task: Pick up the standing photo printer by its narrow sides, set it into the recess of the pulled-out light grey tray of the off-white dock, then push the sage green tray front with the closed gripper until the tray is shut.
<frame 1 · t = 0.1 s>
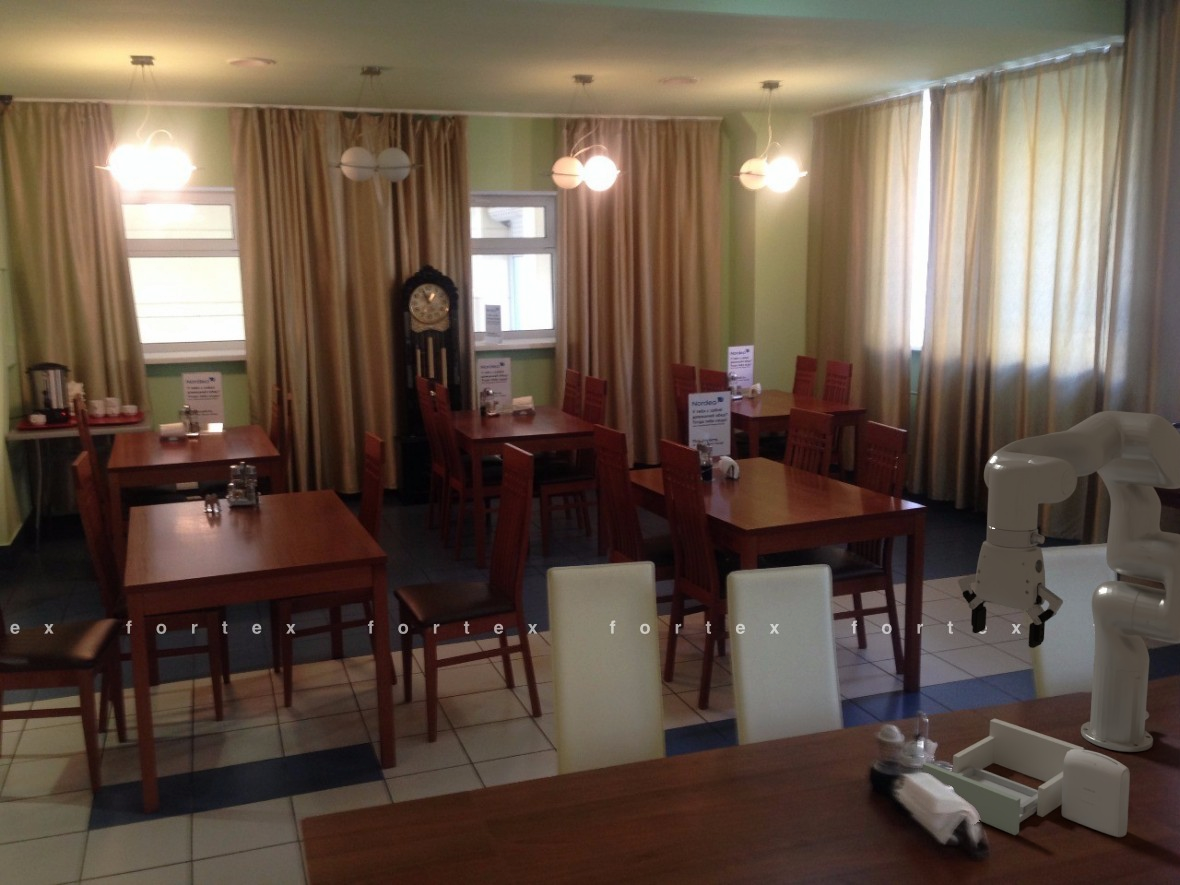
hand: (1006, 638, 169), 31 cm above the table, tool pointing down, fingers open, 9 cm apart
dock: (1016, 786, 183), on the table
tray: (988, 786, 177), point 3 cm above the table, slide at 8.0 cm
photo printer: (1093, 825, 170), on the table
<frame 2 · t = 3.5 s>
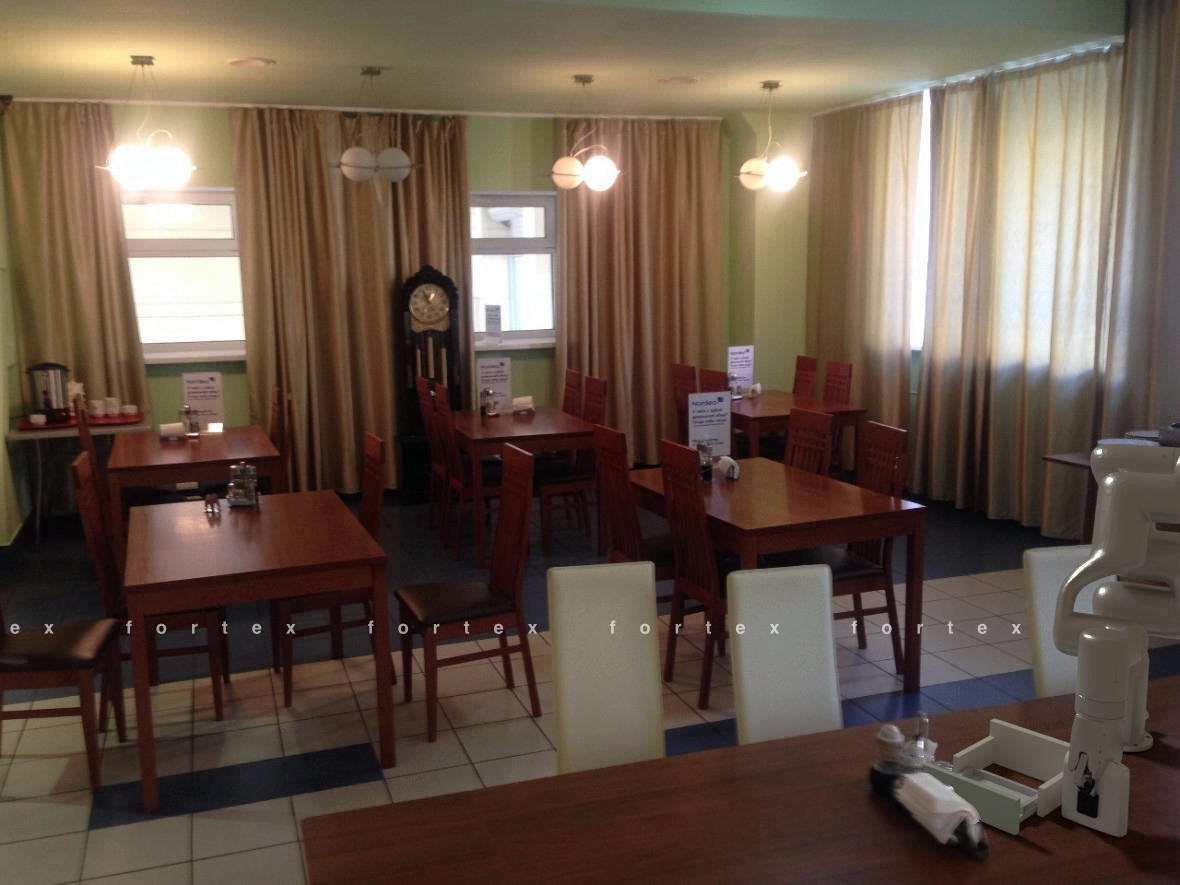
hand: (1094, 808, 170), 3 cm above the table, tool pointing down, fingers closed on photo printer, 4 cm apart
photo printer: (1093, 825, 170), on the table, touching gripper
everything else where it was.
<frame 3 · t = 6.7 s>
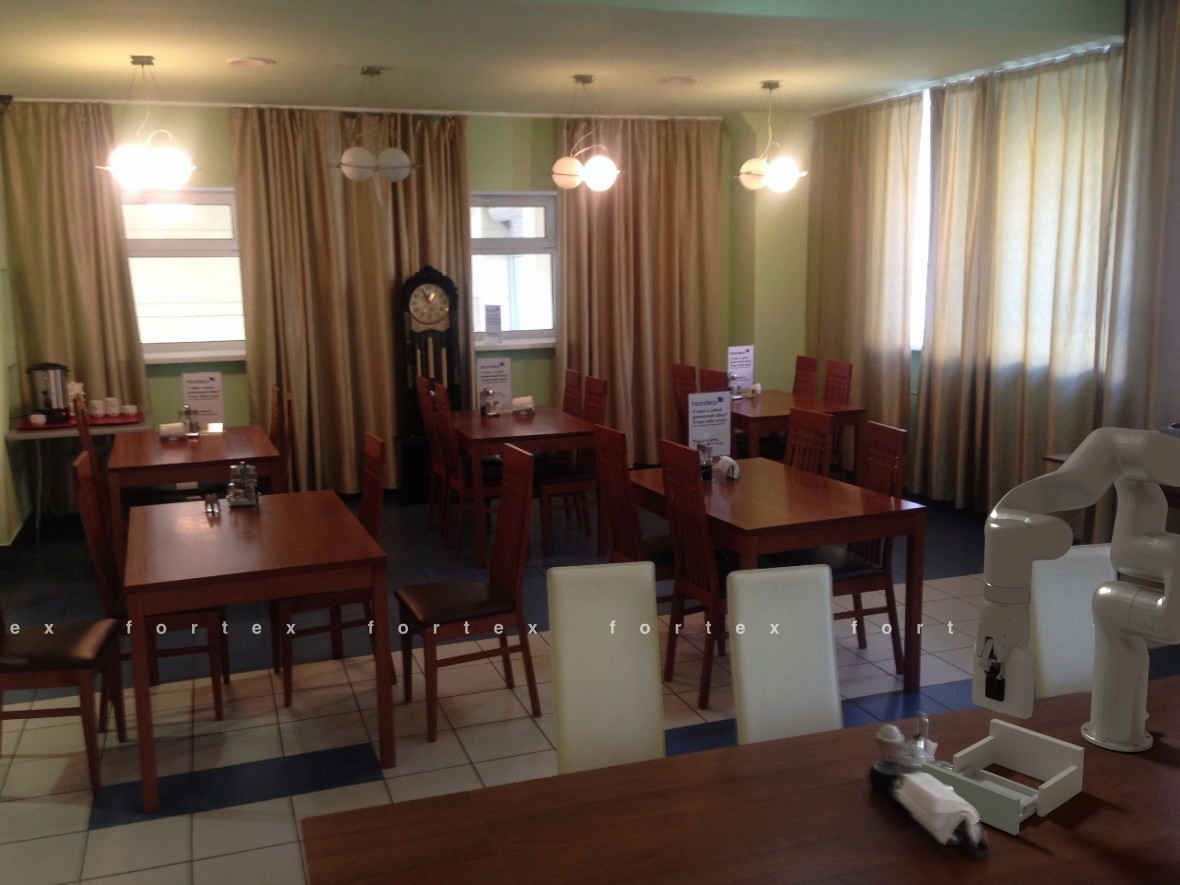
hand: (1002, 694, 176), 19 cm above the table, tool pointing down, fingers closed on photo printer, 4 cm apart
photo printer: (1001, 710, 177), point 16 cm above the table, touching gripper
everything else where it was.
when the fingers open (5 cm above the table, at t = 9.7 s): photo printer drops 1 cm, resting on tray.
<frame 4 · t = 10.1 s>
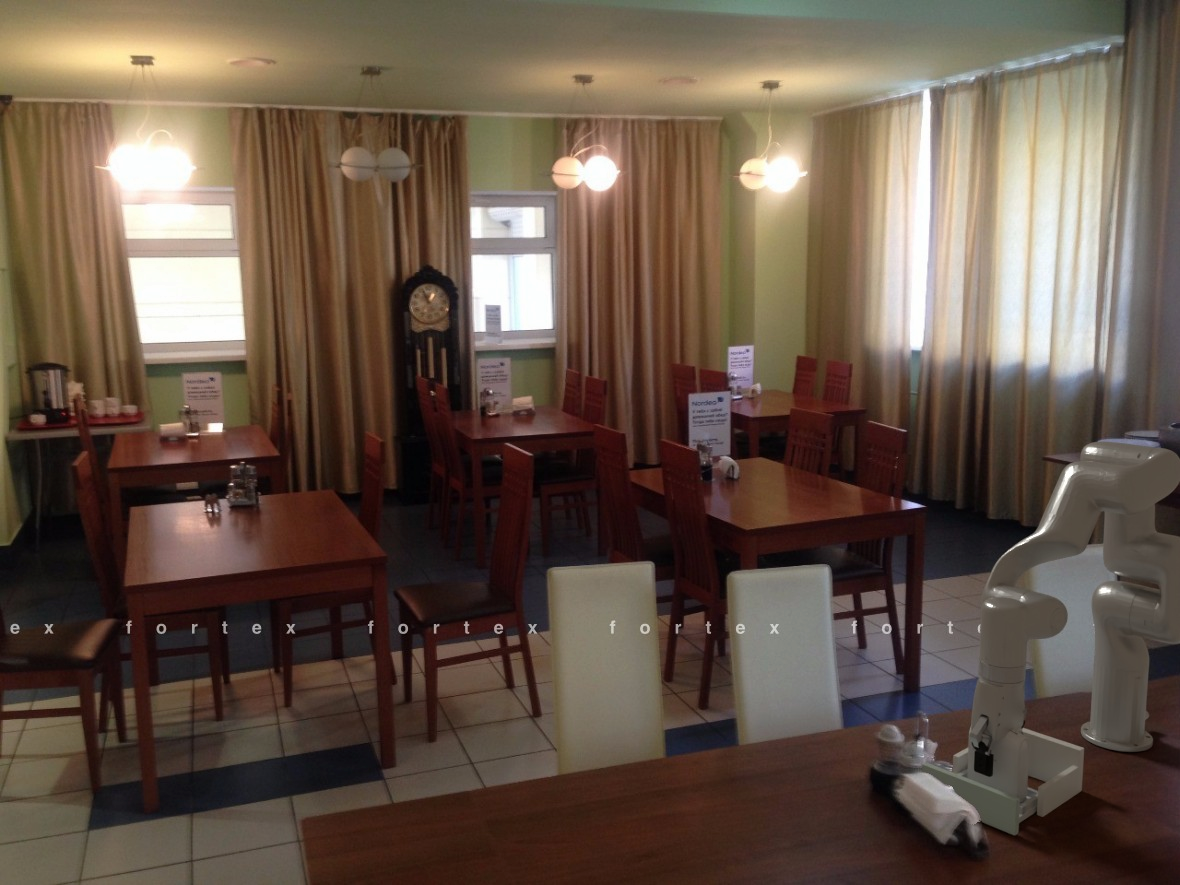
hand: (997, 765, 178), 6 cm above the table, tool pointing down, fingers open, 8 cm apart
tray: (987, 786, 177), point 3 cm above the table, slide at 8.1 cm, touching photo printer
photo printer: (996, 793, 179), point 1 cm above the table, touching tray
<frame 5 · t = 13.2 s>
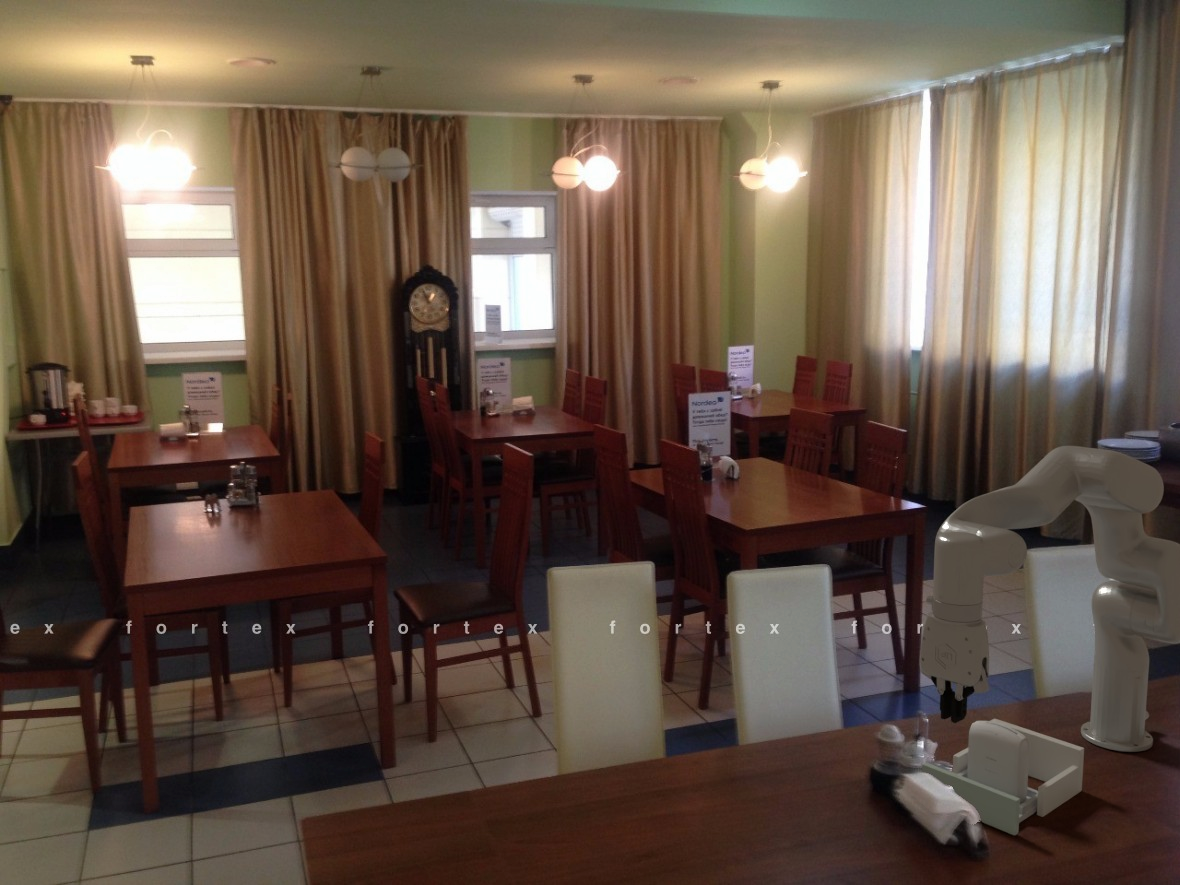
hand: (952, 718, 167), 19 cm above the table, tool pointing down, fingers closed
nothing on the table moved.
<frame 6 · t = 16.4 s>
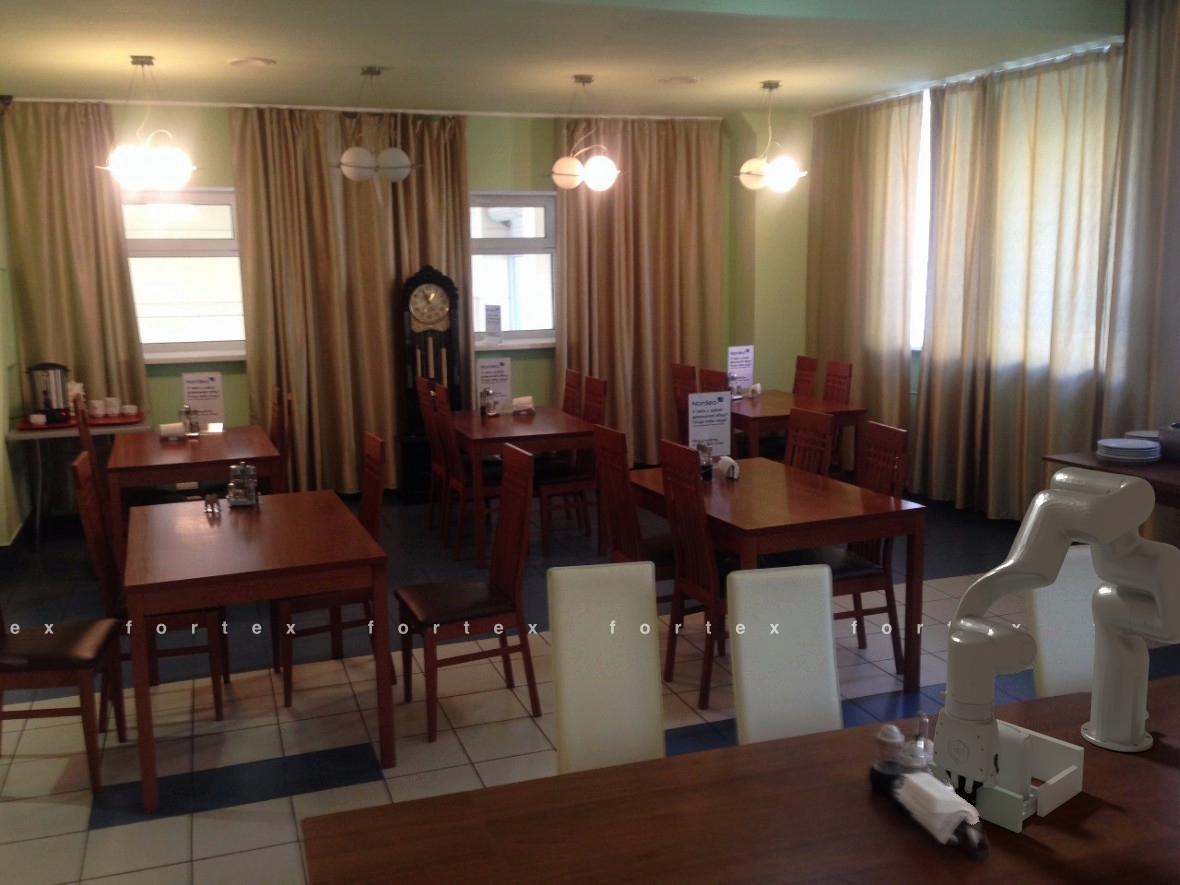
hand: (964, 809, 172), 1 cm above the table, tool pointing down, fingers closed
tray: (991, 784, 177), point 3 cm above the table, slide at 7.0 cm, touching gripper, photo printer
photo printer: (999, 791, 180), point 1 cm above the table, touching tray
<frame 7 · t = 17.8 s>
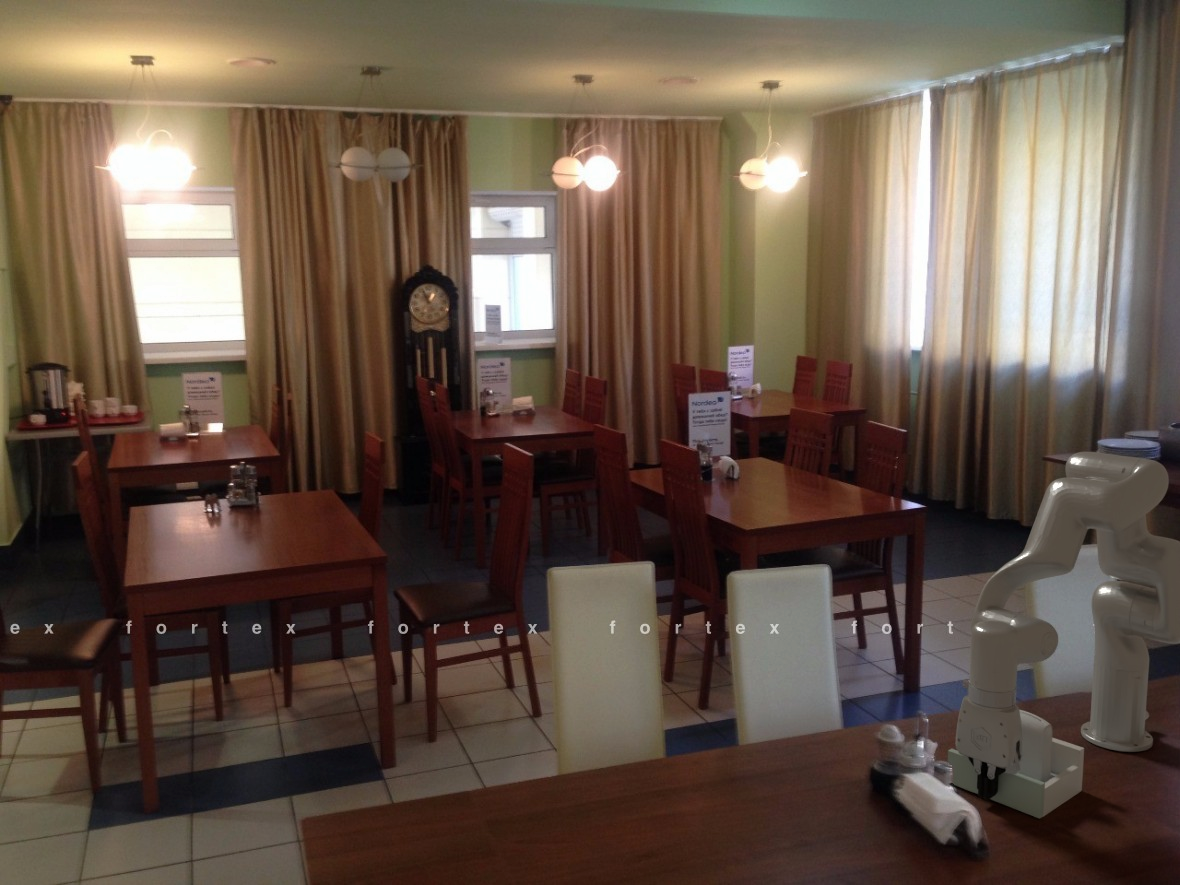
hand: (986, 795, 177), 2 cm above the table, tool pointing down, fingers closed
tray: (1012, 771, 182), point 3 cm above the table, slide at -0.1 cm, touching gripper, photo printer
photo printer: (1020, 778, 184), point 1 cm above the table, touching tray
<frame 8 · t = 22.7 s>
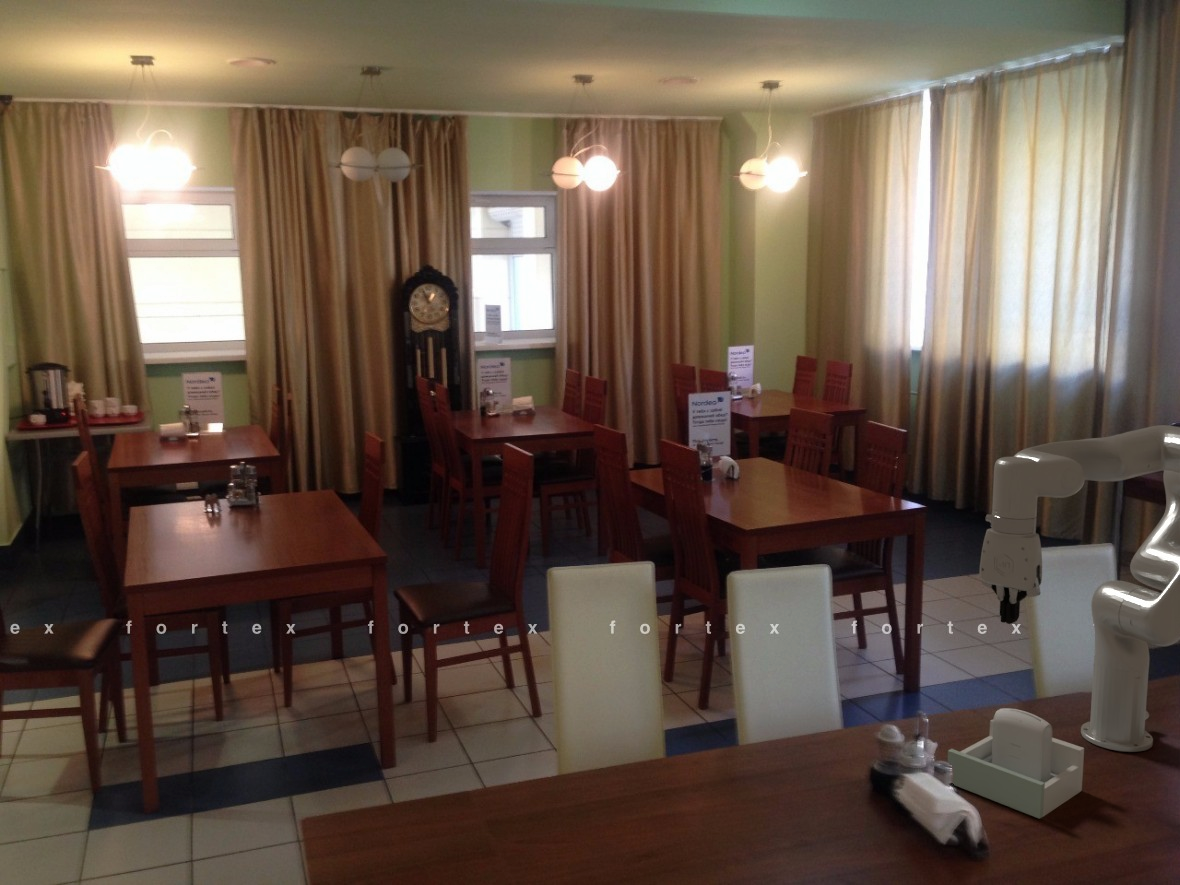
hand: (1009, 621, 190), 27 cm above the table, tool pointing down, fingers closed
tray: (1012, 771, 182), point 3 cm above the table, slide at 0.0 cm, touching photo printer
everything else where it was.
at the end: tray slide at 0.0 cm; photo printer inside the target area on the dock (0.7 cm from its centre), point 1.0 cm above the dock's base; photo printer tilted 0° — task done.
